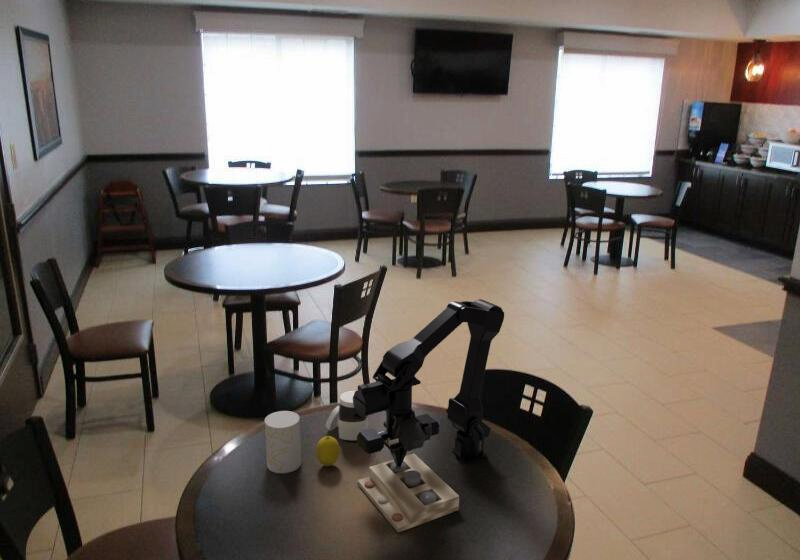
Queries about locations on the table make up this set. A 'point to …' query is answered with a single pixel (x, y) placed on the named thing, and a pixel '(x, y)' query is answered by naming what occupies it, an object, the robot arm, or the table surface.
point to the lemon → (328, 450)
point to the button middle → (412, 479)
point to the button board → (408, 494)
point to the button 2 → (427, 498)
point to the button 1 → (397, 469)
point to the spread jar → (347, 419)
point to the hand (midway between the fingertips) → (398, 465)
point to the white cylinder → (283, 441)
